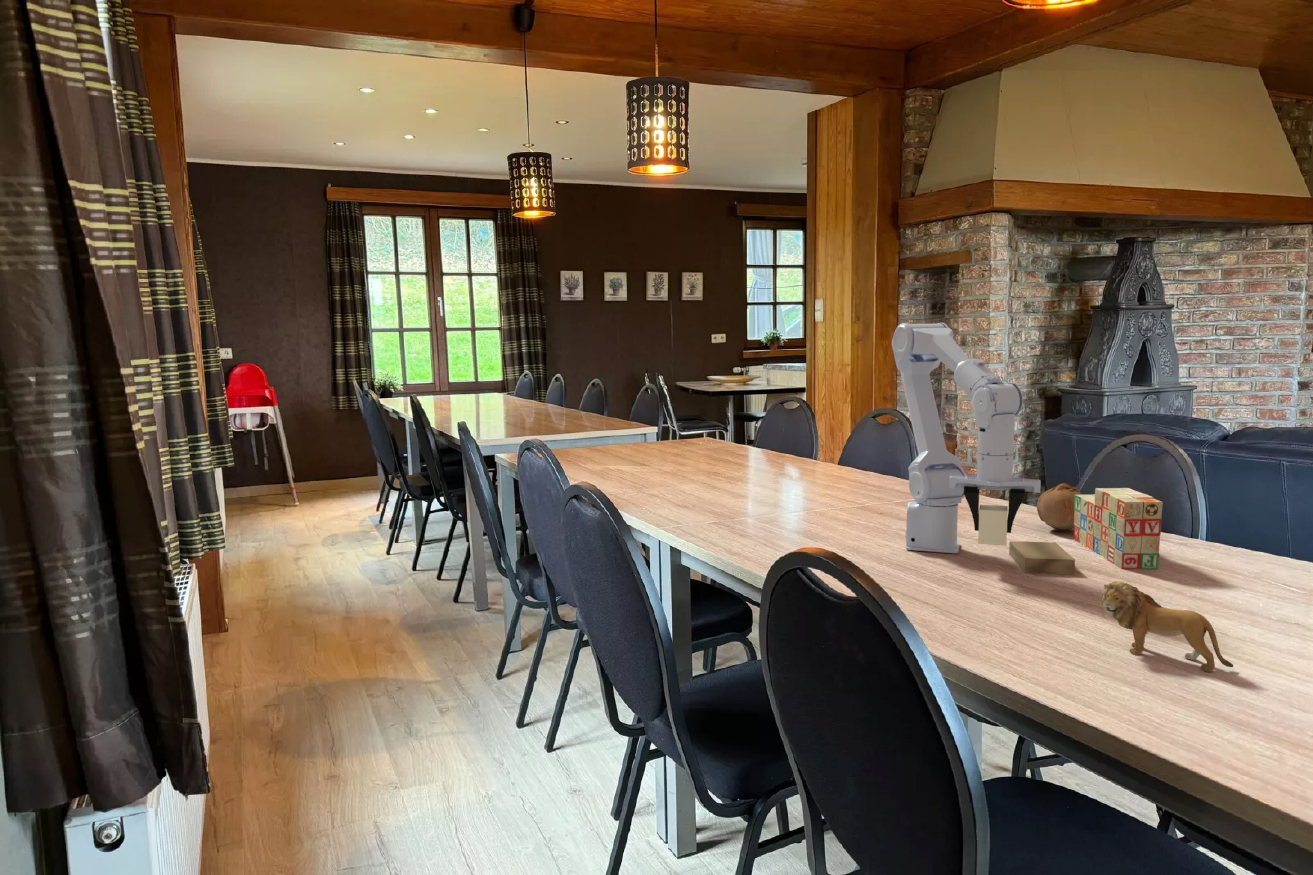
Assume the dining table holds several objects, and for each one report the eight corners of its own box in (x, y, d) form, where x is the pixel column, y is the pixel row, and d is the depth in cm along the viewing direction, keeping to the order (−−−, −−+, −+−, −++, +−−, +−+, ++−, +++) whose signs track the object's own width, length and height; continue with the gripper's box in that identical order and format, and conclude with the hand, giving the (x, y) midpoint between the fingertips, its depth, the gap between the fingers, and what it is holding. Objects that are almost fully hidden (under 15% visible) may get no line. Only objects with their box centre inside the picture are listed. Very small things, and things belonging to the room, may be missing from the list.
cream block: (978, 543, 144) (979, 509, 143) (978, 537, 148) (979, 504, 147) (1006, 545, 142) (1007, 511, 141) (1006, 539, 146) (1007, 506, 145)
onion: (1078, 526, 177) (1080, 479, 175) (1093, 536, 167) (1095, 487, 166) (1030, 525, 178) (1032, 479, 177) (1043, 535, 169) (1044, 487, 168)
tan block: (1024, 575, 144) (1025, 558, 144) (1009, 556, 156) (1009, 541, 155) (1074, 576, 142) (1075, 559, 142) (1054, 558, 154) (1055, 542, 154)
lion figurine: (1095, 650, 109) (1098, 584, 108) (1104, 638, 113) (1107, 574, 112) (1231, 677, 100) (1236, 605, 99) (1235, 663, 104) (1240, 594, 103)
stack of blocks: (1072, 540, 166) (1074, 479, 164) (1105, 540, 165) (1107, 479, 164) (1121, 570, 145) (1125, 500, 143) (1159, 570, 144) (1163, 500, 143)
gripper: (949, 455, 142) (947, 532, 144) (1042, 458, 137) (1039, 539, 138) (951, 449, 149) (949, 523, 150) (1040, 452, 143) (1037, 529, 145)
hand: (992, 530), depth 145 cm, fingers closed on cream block, 4 cm apart
